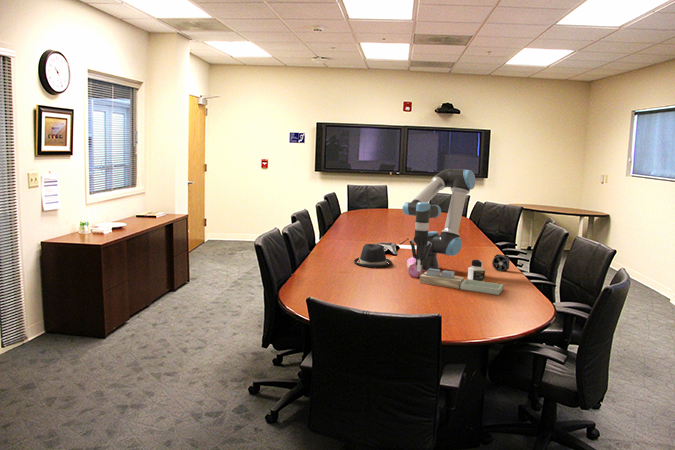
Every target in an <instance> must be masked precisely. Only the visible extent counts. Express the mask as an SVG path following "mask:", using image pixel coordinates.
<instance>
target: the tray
mask: <svg viewBox="0 0 675 450" xmlns="http://www.w3.org/2000/svg"><path fill="white" fill-rule="evenodd" d="M503 288H504V284H503V283H502V284H501V283H496V282H490V281H489V282H488V281H484V282H483V281H477V280H470V279H468V278H466V279H464V281H463V282H462V283H461V286H460V288H459V290H462V291H468V292H475V293H482V294H489V295H494V296H499V295H501V292H503Z"/></svg>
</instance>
